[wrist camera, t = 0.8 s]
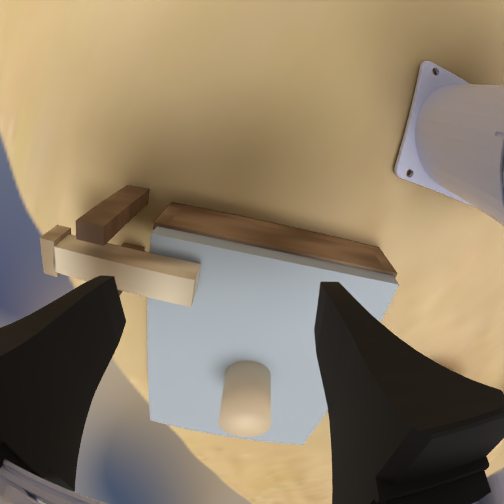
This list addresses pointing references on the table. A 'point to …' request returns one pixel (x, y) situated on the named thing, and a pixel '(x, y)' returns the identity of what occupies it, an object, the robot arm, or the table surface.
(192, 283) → the bar
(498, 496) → the robot arm
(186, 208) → the wooden tray
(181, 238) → the lid
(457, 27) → the table surface
